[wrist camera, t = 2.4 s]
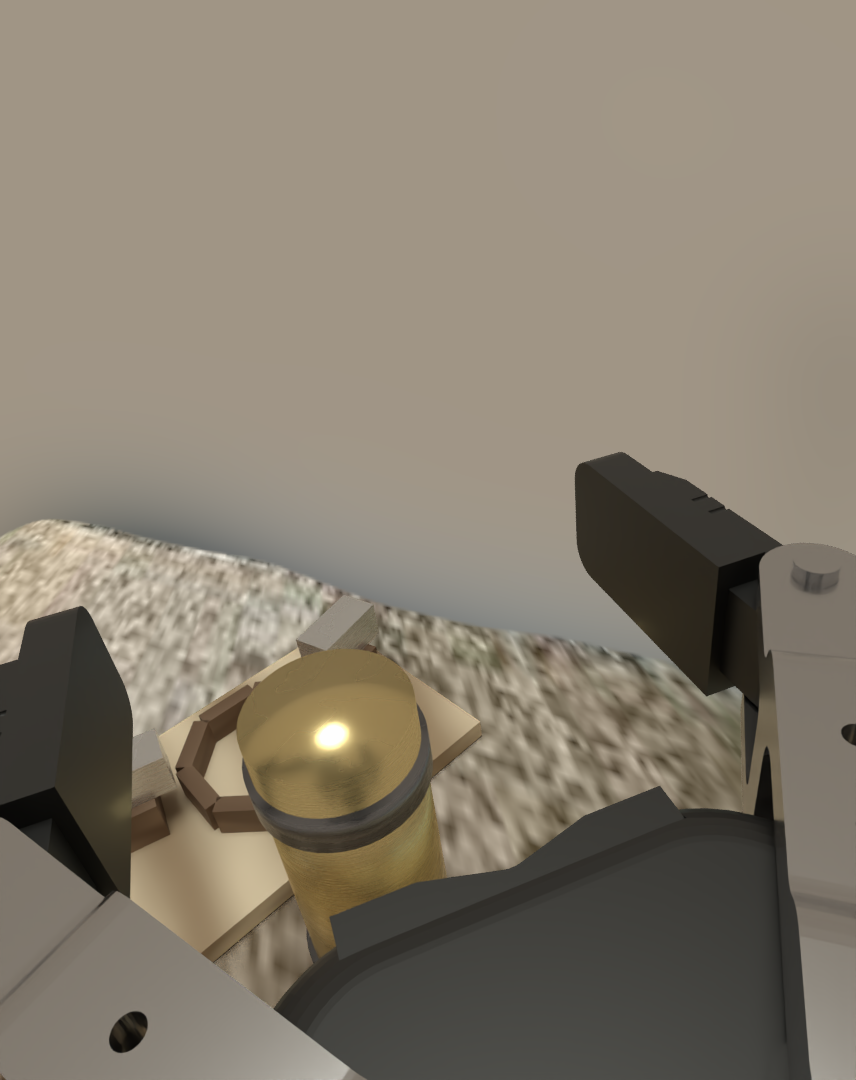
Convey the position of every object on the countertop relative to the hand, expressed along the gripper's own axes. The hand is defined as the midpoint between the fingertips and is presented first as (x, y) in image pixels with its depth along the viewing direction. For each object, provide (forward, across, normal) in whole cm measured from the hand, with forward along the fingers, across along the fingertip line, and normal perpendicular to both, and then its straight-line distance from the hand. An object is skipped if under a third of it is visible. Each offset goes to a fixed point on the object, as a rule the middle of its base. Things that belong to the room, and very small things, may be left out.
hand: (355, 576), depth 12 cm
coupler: (+6, +1, +22) cm, 23 cm away
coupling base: (+17, +4, +22) cm, 28 cm away
